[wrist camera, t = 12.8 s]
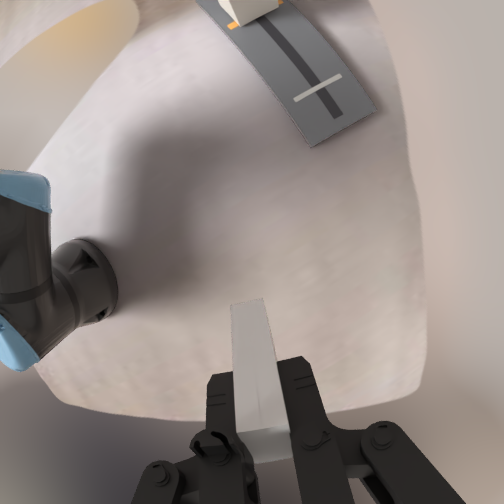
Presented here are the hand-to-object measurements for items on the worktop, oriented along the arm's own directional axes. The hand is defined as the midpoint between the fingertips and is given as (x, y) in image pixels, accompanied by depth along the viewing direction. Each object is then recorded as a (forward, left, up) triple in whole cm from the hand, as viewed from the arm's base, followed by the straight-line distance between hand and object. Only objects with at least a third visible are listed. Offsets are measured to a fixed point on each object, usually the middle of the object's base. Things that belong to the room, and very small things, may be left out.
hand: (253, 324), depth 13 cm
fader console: (+2, +24, -26) cm, 35 cm away
